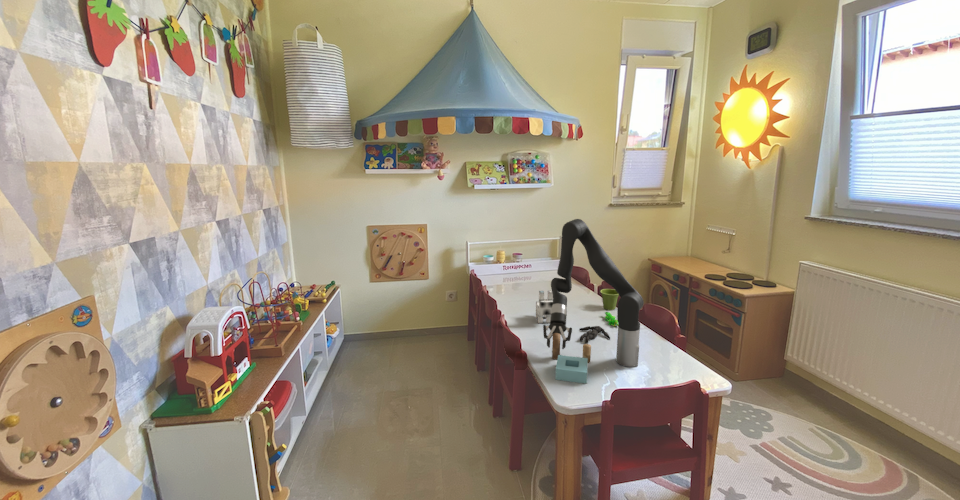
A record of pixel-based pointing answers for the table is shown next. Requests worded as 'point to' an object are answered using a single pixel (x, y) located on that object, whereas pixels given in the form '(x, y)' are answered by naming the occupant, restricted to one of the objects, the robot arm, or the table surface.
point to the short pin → (587, 352)
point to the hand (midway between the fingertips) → (555, 347)
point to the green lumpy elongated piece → (611, 319)
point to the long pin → (556, 346)
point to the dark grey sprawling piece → (592, 333)
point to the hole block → (571, 369)
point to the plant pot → (609, 298)
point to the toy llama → (544, 307)
